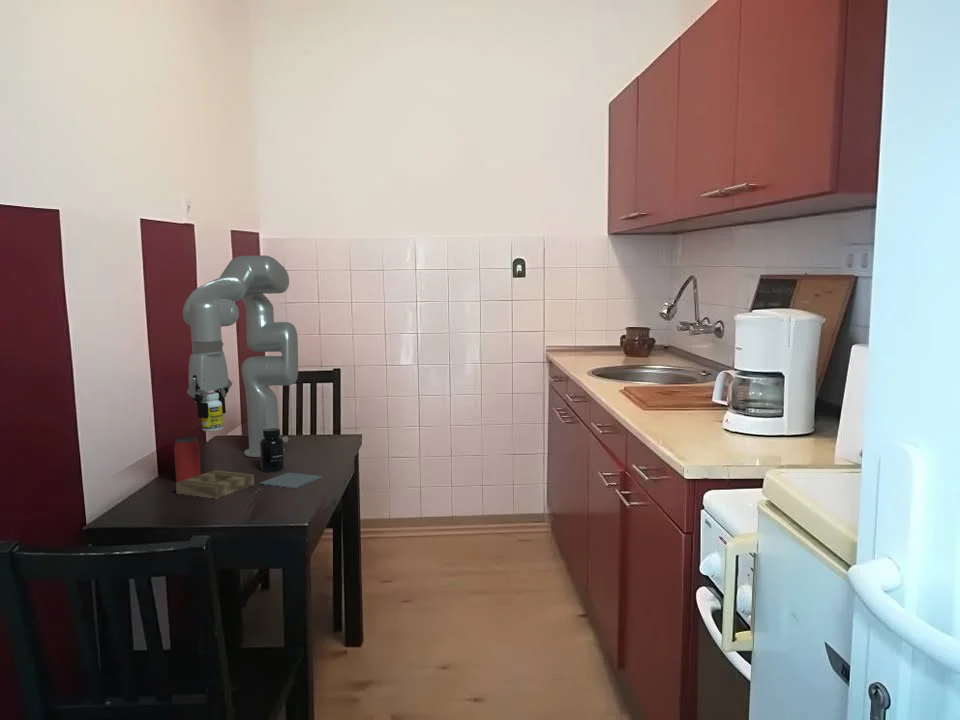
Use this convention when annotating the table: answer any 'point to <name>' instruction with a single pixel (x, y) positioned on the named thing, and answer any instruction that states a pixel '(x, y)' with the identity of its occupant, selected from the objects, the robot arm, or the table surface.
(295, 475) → the mat
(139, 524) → the table surface
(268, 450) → the supplement bottle
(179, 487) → the holder
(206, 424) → the supplement bottle
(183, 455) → the beer can
